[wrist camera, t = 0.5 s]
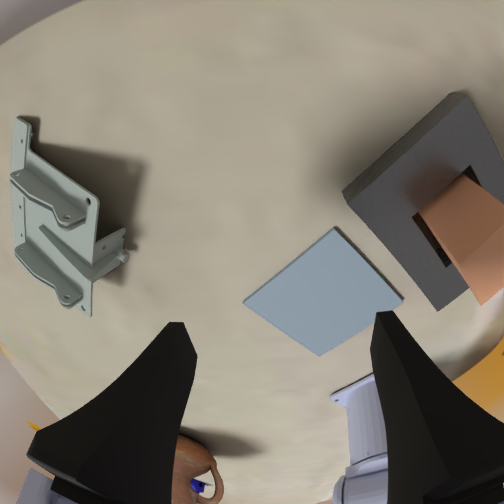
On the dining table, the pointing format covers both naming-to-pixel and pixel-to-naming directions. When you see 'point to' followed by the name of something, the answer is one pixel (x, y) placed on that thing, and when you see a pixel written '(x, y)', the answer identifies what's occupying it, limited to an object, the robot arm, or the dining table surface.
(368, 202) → the socket plate
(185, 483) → the ceramic jug
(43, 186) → the metal bracket
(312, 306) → the rubber mat
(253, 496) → the dining table surface
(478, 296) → the square peg
